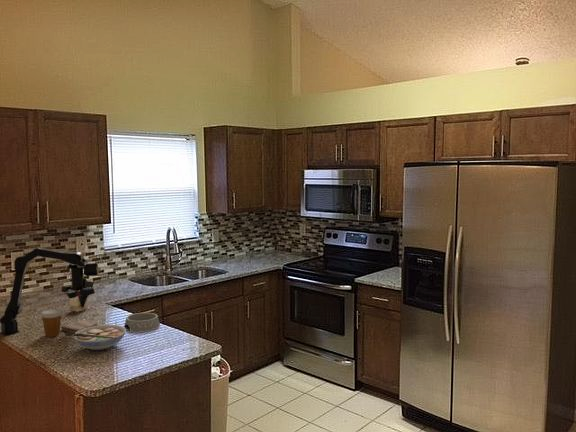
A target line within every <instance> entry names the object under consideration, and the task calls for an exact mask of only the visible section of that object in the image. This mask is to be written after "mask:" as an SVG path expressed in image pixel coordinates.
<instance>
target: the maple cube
mask: <svg viewBox="0 0 576 432" xmlns="http://www.w3.org/2000/svg"><path fill="white" fill-rule="evenodd" d="M88 306H89V305H88V298H87V299H86V302H85V305H84V307H81V304H80V301H79V298H78V297H74V298H70V299H69V310H70V311H73V312H77V313H78V312H83V311H82V310H84V311H86V310H88V309H89V307H88ZM85 309H86V310H85Z"/></svg>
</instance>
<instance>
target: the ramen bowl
mask: <svg viewBox="0 0 576 432" xmlns="http://www.w3.org/2000/svg"><path fill="white" fill-rule="evenodd" d="M126 332H127V331H126V327H124V326H122V325H117V324H100V325H98V324H97V326H92V327H87V328H84V329H81V330H79V331H77V332H76V333H71V332H67V333H64V336H68V337H73V338H74V340H75V341H76V342H77V344H79V345H80V346H81V347H83V348H85V349H89V350H93V351H105V350H107V349H109V348H111V347H113V346H116V344H118V343H119V342H121V340H122V339H123V338H124V335H126V334H125V333H126ZM104 349H105V350H104Z"/></svg>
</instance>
